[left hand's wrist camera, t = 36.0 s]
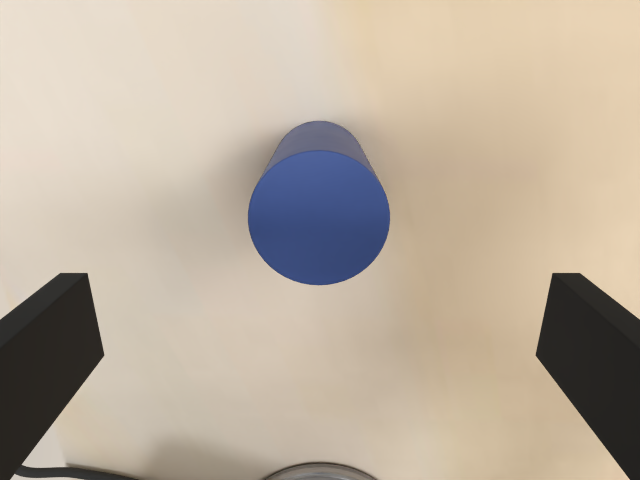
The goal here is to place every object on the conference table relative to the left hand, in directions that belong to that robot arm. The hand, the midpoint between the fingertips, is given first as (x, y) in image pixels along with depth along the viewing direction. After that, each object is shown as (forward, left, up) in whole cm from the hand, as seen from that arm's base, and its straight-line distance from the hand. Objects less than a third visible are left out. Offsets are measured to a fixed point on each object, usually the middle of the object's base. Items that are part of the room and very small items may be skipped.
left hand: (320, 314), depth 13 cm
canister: (0, 0, -20) cm, 20 cm away
